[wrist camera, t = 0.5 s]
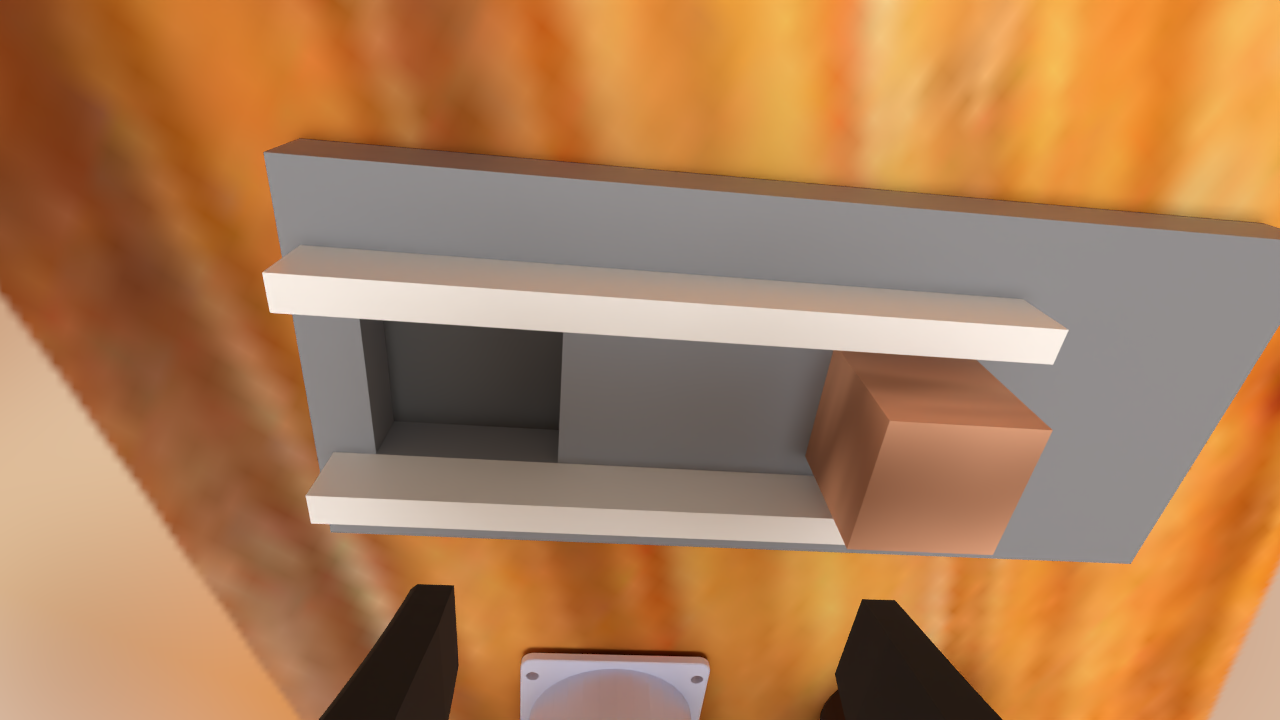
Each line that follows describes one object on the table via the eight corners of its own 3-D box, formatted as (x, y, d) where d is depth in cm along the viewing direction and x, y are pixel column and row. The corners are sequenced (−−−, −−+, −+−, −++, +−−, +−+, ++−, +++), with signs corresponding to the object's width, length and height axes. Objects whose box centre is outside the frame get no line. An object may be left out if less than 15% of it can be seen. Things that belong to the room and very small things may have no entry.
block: (926, 462, 20) (992, 555, 17) (804, 456, 20) (846, 549, 16) (968, 352, 18) (1053, 430, 15) (835, 343, 18) (889, 421, 15)
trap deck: (1093, 525, 25) (1130, 563, 23) (352, 491, 22) (330, 532, 21) (1263, 223, 19) (1330, 243, 17) (299, 138, 17) (263, 152, 15)
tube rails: (938, 506, 21) (968, 549, 19) (337, 478, 20) (310, 523, 18) (1023, 299, 18) (1068, 329, 16) (300, 244, 16) (262, 272, 14)
